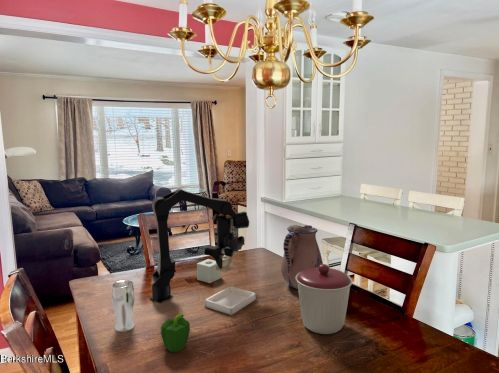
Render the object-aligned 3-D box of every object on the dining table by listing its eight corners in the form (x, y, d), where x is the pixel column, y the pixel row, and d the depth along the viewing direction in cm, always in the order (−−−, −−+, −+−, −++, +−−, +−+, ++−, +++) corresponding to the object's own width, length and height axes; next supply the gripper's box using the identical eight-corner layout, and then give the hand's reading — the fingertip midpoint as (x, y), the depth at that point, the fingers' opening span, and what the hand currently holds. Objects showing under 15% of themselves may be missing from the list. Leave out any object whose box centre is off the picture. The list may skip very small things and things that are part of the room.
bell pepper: (161, 357, 103) (160, 324, 102) (161, 342, 111) (160, 311, 110) (191, 353, 105) (190, 320, 104) (189, 338, 113) (188, 308, 112)
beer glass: (113, 324, 123) (111, 281, 121) (135, 320, 125) (133, 278, 123) (113, 334, 116) (111, 289, 114) (136, 330, 118) (134, 286, 117)
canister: (287, 333, 115) (288, 269, 113) (303, 309, 132) (304, 253, 129) (346, 346, 108) (347, 278, 105) (355, 319, 124) (356, 259, 122)
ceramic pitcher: (328, 282, 157) (329, 225, 154) (310, 301, 139) (311, 237, 136) (291, 275, 166) (291, 221, 163) (269, 291, 148) (269, 231, 145)
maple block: (225, 272, 148) (225, 260, 147) (216, 269, 151) (215, 258, 150) (233, 268, 152) (232, 256, 151) (223, 266, 155) (223, 254, 154)
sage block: (210, 283, 157) (209, 266, 156) (197, 279, 161) (196, 263, 161) (221, 278, 163) (220, 261, 162) (208, 274, 168) (208, 258, 167)
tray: (231, 315, 128) (231, 308, 128) (204, 306, 135) (204, 299, 135) (256, 299, 141) (255, 293, 140) (230, 291, 148) (230, 286, 148)
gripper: (224, 238, 137) (225, 277, 139) (252, 228, 152) (253, 264, 154) (202, 234, 143) (203, 272, 145) (231, 224, 159) (232, 259, 161)
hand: (224, 266), depth 151 cm, fingers closed on maple block, 5 cm apart
